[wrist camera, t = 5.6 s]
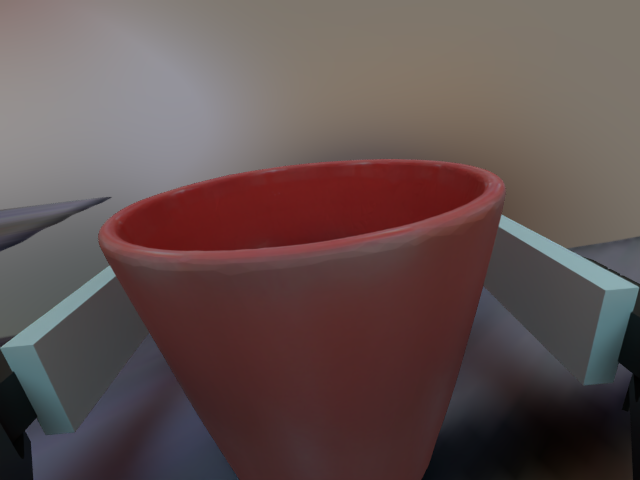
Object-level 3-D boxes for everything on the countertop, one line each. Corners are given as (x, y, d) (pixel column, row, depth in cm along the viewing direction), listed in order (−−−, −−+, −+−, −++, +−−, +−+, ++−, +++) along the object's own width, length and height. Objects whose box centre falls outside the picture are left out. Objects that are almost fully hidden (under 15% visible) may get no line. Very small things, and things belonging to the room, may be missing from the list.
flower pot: (212, 357, 18) (166, 175, 14) (409, 324, 19) (409, 148, 16) (143, 650, 8) (-54, 298, 5) (560, 546, 9) (651, 199, 6)
